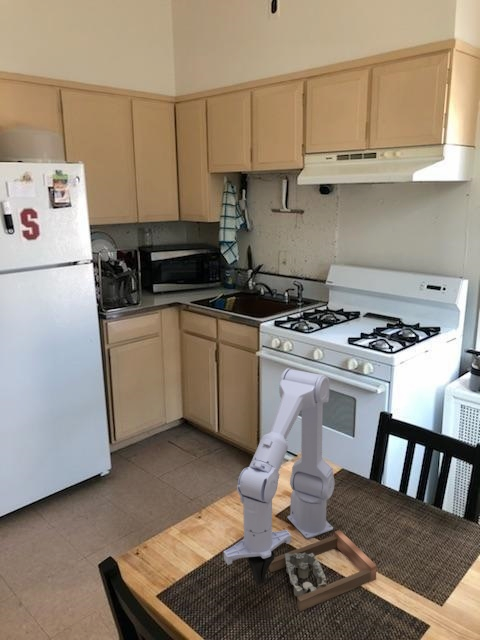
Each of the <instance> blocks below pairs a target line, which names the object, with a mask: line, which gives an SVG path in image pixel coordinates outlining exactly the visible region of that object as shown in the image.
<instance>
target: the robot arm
mask: <svg viewBox="0 0 480 640" xmlns="http://www.w3.org/2000/svg"><path fill="white" fill-rule="evenodd" d="M278 386H279V388H278V389H279V390H278V392H279V396H280V402H279V404H278V406H277V407H278V408H277V410H276V413H275V416H274V419H273V422H272V425H271V427H270V428H271V429H270V431H269V432H268V433H266V434H264V435H262V436H261V438H260V440H259V443H258V445H257V448H256V450H255V453H254V454H253V457H252V459H251V462H250V464H249V466H248V467H245V468H243V470H242V471H241V472H240V474H239V476H238V480H237V486H236V490H237V491H236V492H237V493H238V495H239V497H240V502H241V504H243V506H242V507H243V509H242V511H243V513H242V514H243V539H241V540H239V541H238V542H237V543H235V544H234V545H232V546H231V547H229V548H228V549H226V550H223V560H224V562H225V564H227V565H228V566H229V565H232V564H233V561H236V560H239V559H242V558H245V559H246V560H247V562H248V565H249V567H250V570H251V574H252V578H253V581H254V582H255V583H256V585H257V586H258V585H261V584H264V581H265V578H266V576H267V571H269V569H268V567H269V566H270V564H271V563H272V561H273V560H274V557H275V552H274V551H273V550H275V549H276V548H277V547H279V546H280V545H281V544H284V543H285V544H287V545H288V544H291V543H292V534H291V533H290V532H289V531H288V530H287V529H284V530H277V531H273V499H274V497H275V495H276V493H277V491H278V490H277V489H278V486H279V484H278V483H279V480H280V476H281V474H280V473H279V471H280V468H281V467H282V464H283V461H284V459H285V457H286V455H287V452H288V448H289V446H288V442H287V438H288V436H289V434H290V433H291V430H292V429H293V427H294V424H295V422H296V420H297V419H298V416H299V415H300V413H301V445H300V446H301V449H300V451H301V454H300V455H301V457H300V458H298V459H297V460H296V461H295V462H294V464H293V465H292V467H291V475H290V477H289V478H290V479H289V481H290V482H289V485H290V488H291V490H292V491H291V493H290V509H289V510H290V513H289V514H290V515H287V519H288V521H290V522H291V524H292V525H293V526H294V528H296V529H297V530H298V532H300V534H301V535H302V536H303V537H304V538H305V539H308V540H309V539H312V538H313V537H316V536H319V535H321V534H322V535H323V534H325V533H327V532H330V531H333V530H334V527H333V526H332V524H330V523H329V521H327V501H328V500H329V499H330V498H331V497H332V495H333V493H334V489H335V478H334V471H333V470H334V469H333V467H332V466H331V465H330V464H329V463H328V462H326V460H324V459H323V419H324V418H323V413H324V411H323V410H324V409H323V407H324V403H329V402H330V401H329V399H330V378H329V377H328V376H327V375H326V374H322V373H321V374H320V373H313V372H307V371H303V370H298V369H292V368H290V367H287V368H286V369H285V370H283V372H282V373H281V375H280V379H279V385H278Z"/></svg>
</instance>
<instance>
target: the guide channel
mask: <svg viewBox="0 0 480 640" xmlns="http://www.w3.org/2000/svg"><path fill="white" fill-rule="evenodd" d="M336 548H337V549H338V550H339V551H340V552H341V553H342V554H343V555H344V556H345V557H346V558H347V559H348V560H349V561H350V562H351V563H352V564H353V565H354V566H355V568H356V569H358V572H355V573H353V574H350V575H348V576H346V577H343V578H341V579H338V580H335V581H333V582H331V583H329V584H326V586H323V587H321V588H318V589H316V590H314V591H311V592H309V593H306V594H304V595H302V596H299V597H297V596H296V607H297V609H298V611H299V612H302V611H305V610H306V609H310V608H312V607H314V606H316V605H318V604H320V603H321V604H322V603H323V602H326V601H328V600H330V599H332V598H335V597H337V596H340V595H342V594H344V593H347V592H349V591H351V590H354V589H357V588H359V587H361V586H363V585H365V584H368V583H371V582H372V581H374V580H377V567H378V566H377V565H376V563H375V562H373V561H372V560H371V558H370V557H368V556H367V555H366V554H365V553H364V552H363V550H361V549H360V548H359V546H357V545H356V544H355V543H354V542H353V541H352V540H351V539H350V538H349V537H347V536H346V535H345V533H343V532H342V530H340V529H339V530H336V531H334V535H332V536H329V537H326V538H324V539H321V540H318V541H315V542H312V543H310V544H308V545H307V544H306V545H304V546H302V547H299V548H297V549H293V550H291V551H288V552H285V553H283V554H279V555H277V556H274V560H273V561H272V563H271V564H270V566H269V567H268V571H269V572H270V573H274V572H276V571H279V570H281V569H284V568H286V559H285V554H286V553H287V554H294V553H297V554H298V553H301V554H303V553H304V552H305V553H306V554H310V553H313V554H314V556H318V555H321V554H323V553H327V552H329V551H331V550H334V549H336Z"/></svg>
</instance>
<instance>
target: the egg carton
mask: <svg viewBox="0 0 480 640" xmlns="http://www.w3.org/2000/svg"><path fill="white" fill-rule="evenodd" d="M285 553H286V554H285ZM285 553H284V554H285V559H286V567H285V568H286V569H285V571H286V573H287V574H288V575H289V583H290V585H293V594H294V596H295V597H296V598H297V597H299V596H302V595H304V594H306V593H309V592H311V591H314V590H316V589H318V588H321V587H323V586H326V585H327V583H328V582H327V577H326V574H325V572H324V571H323V568H322V566H321V565H322V564H321V562H319V560H318V559H317V558H316V557H315V556H314V554H313V553H310V554H306V553H305V552H304V553H303V554H301V553H298V554H297V553H294V554H287V553H288V552H285ZM310 566H311V567H312V575H313V576H314V577H317V578H316V579H317V581H316V585H317V586H314V585H313V584H312V583H311V582H310V581H304V582H303V583H302V587H301V586H300V585H299V580H298V578H300V579H302V580H306V579H308V577H309V569H310V568H309V567H310ZM295 568H296V569H297V575H296V574H295ZM303 589H304V590H303Z"/></svg>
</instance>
